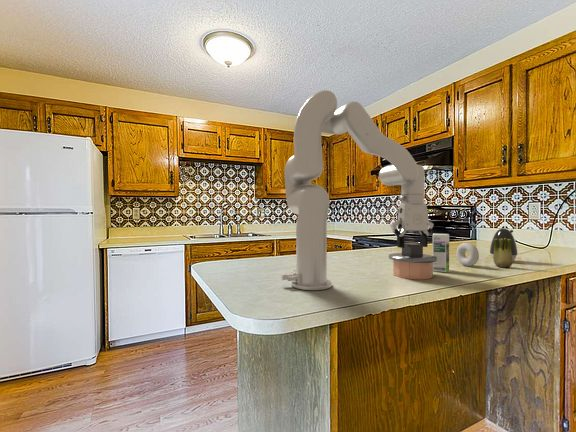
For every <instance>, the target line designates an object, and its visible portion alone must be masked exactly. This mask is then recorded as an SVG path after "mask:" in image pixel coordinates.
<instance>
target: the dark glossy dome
mask: <svg viewBox="0 0 576 432" xmlns="http://www.w3.org/2000/svg"><path fill="white" fill-rule="evenodd" d="M513 232H514V229H511V230H509V229H508V228H499V229H498V230H497V231H495V233H494V235H493V237H492V240H491V243H490V246H489V247H490V248H489V253H490V255H491V258H492V259H493V260H494V257H493V254H494V239H497V240H498V248H499V239H503V244H504V238H506V239H507V240H508V239H510V240H512V242H511V252H512V258H513V261H515V260H516V258H517V255H518V247H517V243H516V240H515V237H514V235H513ZM502 248H503V247H502Z"/></svg>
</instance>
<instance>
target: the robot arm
mask: <svg viewBox="0 0 576 432" xmlns="http://www.w3.org/2000/svg"><path fill="white" fill-rule="evenodd" d="M337 99H338V98H337V96H336V94H335V93H334V92H332V91H331V90H328V89H327V90H321V91H318V92H315V94H313V95H312V96H310V97H309V98H308V99H307V100H306V102H304V104H303V105H302V106H301V108H300V109H299V113H298V115H297V116H296V117H297V118H296V119H295V124H294V128H293V129H294V130H293V152H294V153H293V155H292V156H291V157H289V158H288V160H287V161H286V163H285V166H284V184H285V187H284V189H285V198H286V204H287V207H288V209H289V210H290V211H291V212H292V213H293V214H295V215H297V219H296V227H295V237H296V240H295V241H296V242H295V243H296V244H295V245H296V246H295V247H296V249H295V251H296V254H295V255H296V257H295V259H296V260H295V262H296V265H295V266H296V267H295V268H296V269H293V272H291V273H282V274H281V277H280V279H281V280H282V281H287V282H291V287H293V288H294V289H298V290H302V291H303V290H304V291H322V290H328V289H329V288H331V287H332V285H333V283H332V281H331V280H329V279H327V278H328V276H327V271H328V270H327V268H328V267H327V266H328V265H327V261H328V260H327V259H328V258H327V257H328V255H327V249H328V248H327V246H328V245H327V244H328V243H327V241H328V240H327V238H328V237H327V236H328V235H327V232H328V231H327V225H328V224H327V223H328V215H329V210H330V209H329V208H330V196H329V193H328V192H327V190H326V189H325V188H324V187H323V186H321V185H319V184H312V181H313V180H316V179H318V178H319V177H320V176H321V175H322V174H323V170H324V164H323V163H324V162H323V147H322V133H323V134H324V133H325V134H329V135H343V134H346V133H348V135H349V136H350V137H351V139H352V140H353V142H355V144H356V145H357V146H358V147H359V149H360V150H361V151H362V152H363V153H365V154H369V155H373V156H377V157H380V158H383V159H384V160H386V161H388V162H389V163H390V164H388V165H386V166H383V167H382V168H381V169H380V171H379V172H378V178H379V181H380V182H381V184H383V185H385V186H388V187H391V186H392V187H394V186H400V187H401V190H400V191H401V194H400V196H399V198H398V200H399V201H400V203H399V207H398V212H397V220H395V221H393V222H392V223H391V224H390V227H391V230H392V232H393V233H394V235H395V237H396V247H397V248H400V249H402V248H404V243H405V236H404V235H405V234H406V232H419V233H420V235H419V244H423V248H427V247H428V241H429V240H428V237H429V236H430V234H431V232H432V231H433V230H432V229H433V227H434V225H435V224H434V223H433V222H432V221H430V220H429V211H428V207H427V204H426V203H425V167H424V166H423V165H420V164H417V162H416V160H415V159H414V157H413V156H412V154H411V153H410V152H409V151H408V149H406V147H404V146H403V145H401V144H400V143H399V142H397V141H395V140H393V139H392V138H390V137H387V136H386V135H385V134H383V132H382V131H381V130H380V128H379V127H378V126H377V124H376V123H375V122H374V120H373V119H372V117H371V116H370V114H369V113H368V111H367V110H366V109H365V108H364V107H363V105H362V104H361V103H360V102H358V101H348V102H347V103H345V104H344V105H341V106H340V107H338V100H337Z"/></svg>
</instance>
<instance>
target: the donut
mask: <svg viewBox="0 0 576 432" xmlns="http://www.w3.org/2000/svg"><path fill="white" fill-rule="evenodd" d="M466 252H468V254H469V255H468V257H467V256H466ZM455 255H456V256H455V257H456V259H457V261H458V262H459V263H460V264H461V265H463V266H465V267H473V266H475V265H476V264H477V263H478V261H479V257H480V254H479V250H478V248H477V247H476V245H474V244H472V243H470V242H463V243H460V244H459V245H458V246H457V248H456V253H455Z"/></svg>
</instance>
